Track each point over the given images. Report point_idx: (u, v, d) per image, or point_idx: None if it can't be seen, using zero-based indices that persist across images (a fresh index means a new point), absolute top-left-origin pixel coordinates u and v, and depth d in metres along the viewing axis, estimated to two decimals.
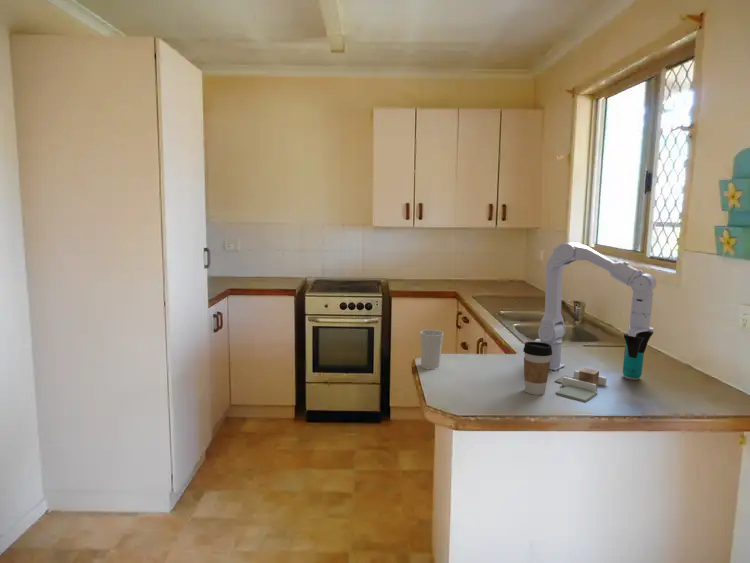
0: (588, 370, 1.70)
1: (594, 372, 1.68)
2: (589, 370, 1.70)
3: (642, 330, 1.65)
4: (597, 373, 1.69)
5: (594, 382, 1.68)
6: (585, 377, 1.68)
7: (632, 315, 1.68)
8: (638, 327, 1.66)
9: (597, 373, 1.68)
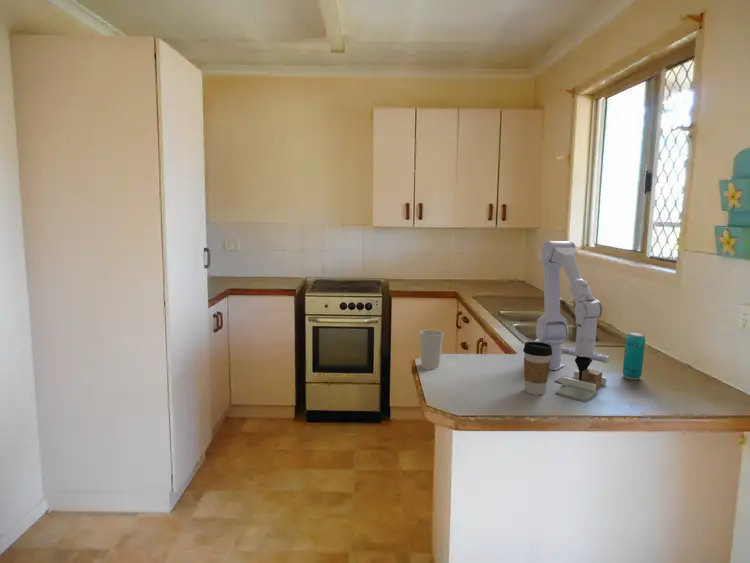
0: (591, 371, 1.69)
1: (597, 373, 1.67)
2: (592, 370, 1.69)
3: (570, 351, 1.71)
4: (600, 374, 1.68)
5: (597, 383, 1.67)
6: (588, 377, 1.67)
7: None
8: (575, 349, 1.71)
9: (600, 374, 1.68)
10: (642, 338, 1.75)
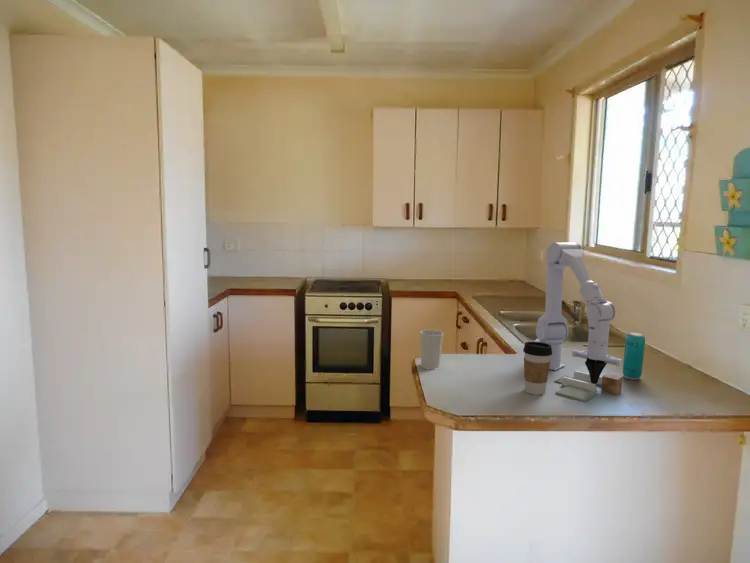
0: (611, 375, 1.65)
1: (617, 378, 1.63)
2: (612, 375, 1.65)
3: (582, 354, 1.68)
4: (621, 378, 1.64)
5: (618, 388, 1.63)
6: (609, 382, 1.63)
7: None
8: (587, 352, 1.69)
9: (620, 378, 1.64)
10: (642, 338, 1.75)
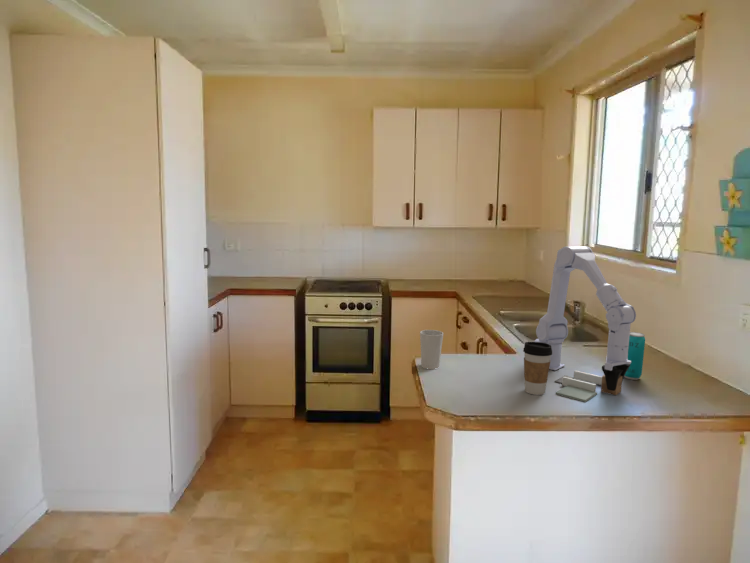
0: None
1: None
2: None
3: (619, 363, 1.60)
4: (620, 378, 1.64)
5: (618, 387, 1.63)
6: None
7: (609, 347, 1.62)
8: (615, 360, 1.61)
9: (620, 378, 1.64)
10: (642, 338, 1.75)
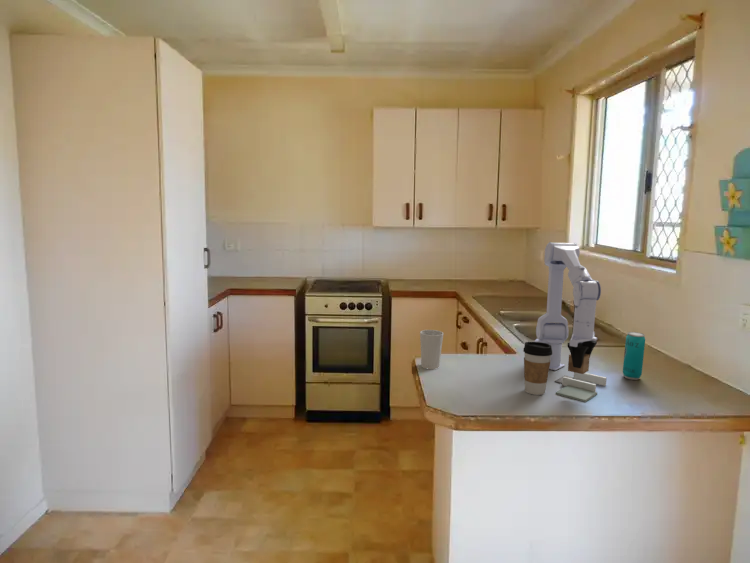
0: None
1: (584, 356, 1.59)
2: None
3: (584, 340, 1.56)
4: (587, 357, 1.61)
5: (584, 366, 1.59)
6: None
7: (575, 324, 1.59)
8: (581, 336, 1.57)
9: (587, 357, 1.60)
10: (642, 338, 1.75)
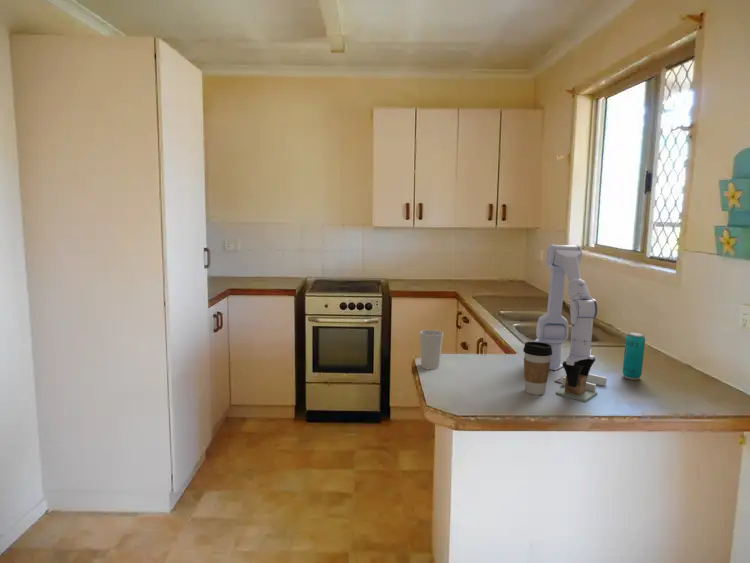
0: None
1: (581, 377, 1.60)
2: None
3: (581, 358, 1.57)
4: (584, 378, 1.61)
5: (581, 387, 1.60)
6: None
7: (572, 342, 1.60)
8: (577, 355, 1.58)
9: (584, 378, 1.61)
10: (642, 338, 1.75)
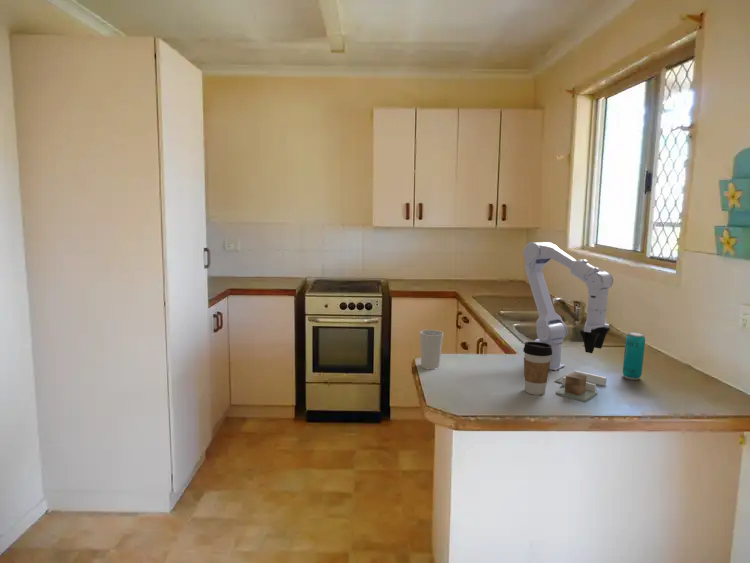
0: (575, 375, 1.62)
1: (581, 377, 1.60)
2: (576, 375, 1.63)
3: (597, 326, 1.70)
4: (584, 378, 1.61)
5: (581, 387, 1.60)
6: (572, 382, 1.61)
7: (588, 311, 1.73)
8: (594, 323, 1.71)
9: (584, 378, 1.61)
10: (642, 338, 1.75)
